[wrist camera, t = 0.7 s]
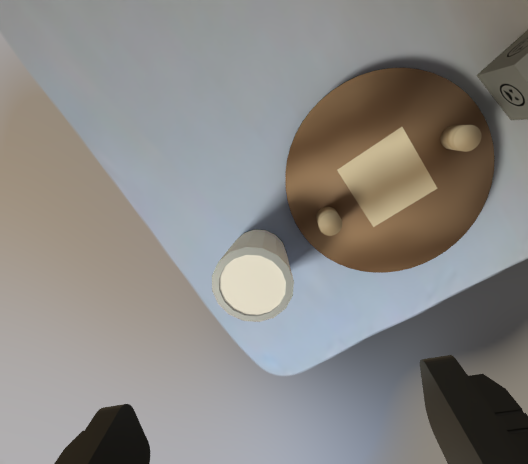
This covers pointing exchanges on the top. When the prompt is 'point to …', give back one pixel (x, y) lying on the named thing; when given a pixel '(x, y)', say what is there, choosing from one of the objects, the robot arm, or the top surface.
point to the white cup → (254, 277)
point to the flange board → (389, 170)
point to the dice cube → (510, 79)
